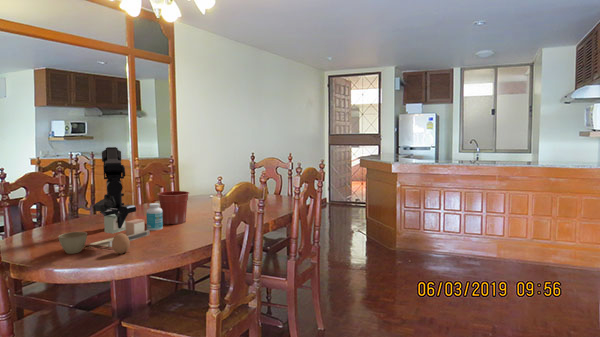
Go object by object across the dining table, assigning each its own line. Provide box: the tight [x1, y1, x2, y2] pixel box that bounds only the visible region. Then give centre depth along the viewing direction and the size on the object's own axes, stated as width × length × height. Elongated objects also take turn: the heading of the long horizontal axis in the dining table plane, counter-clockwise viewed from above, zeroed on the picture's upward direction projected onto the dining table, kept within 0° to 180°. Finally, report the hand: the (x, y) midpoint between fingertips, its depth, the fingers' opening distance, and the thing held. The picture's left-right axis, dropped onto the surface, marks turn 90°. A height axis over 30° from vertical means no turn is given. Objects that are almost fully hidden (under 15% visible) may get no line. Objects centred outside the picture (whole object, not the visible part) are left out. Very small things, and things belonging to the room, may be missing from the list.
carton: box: [124, 218, 146, 236], centre depth 181 cm, size 5×7×7 cm
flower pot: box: [156, 190, 190, 225], centre depth 216 cm, size 16×16×16 cm
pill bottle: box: [146, 202, 164, 231], centre depth 196 cm, size 8×7×14 cm
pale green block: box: [103, 214, 127, 235], centre depth 171 cm, size 5×7×7 cm
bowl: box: [58, 231, 88, 255], centre depth 160 cm, size 10×10×7 cm
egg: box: [111, 232, 131, 255], centre depth 158 cm, size 6×6×8 cm
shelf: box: [89, 229, 151, 251], centre depth 175 cm, size 12×22×3 cm, turn 157°
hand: (115, 227), depth 171 cm, fingers closed on pale green block, 5 cm apart
